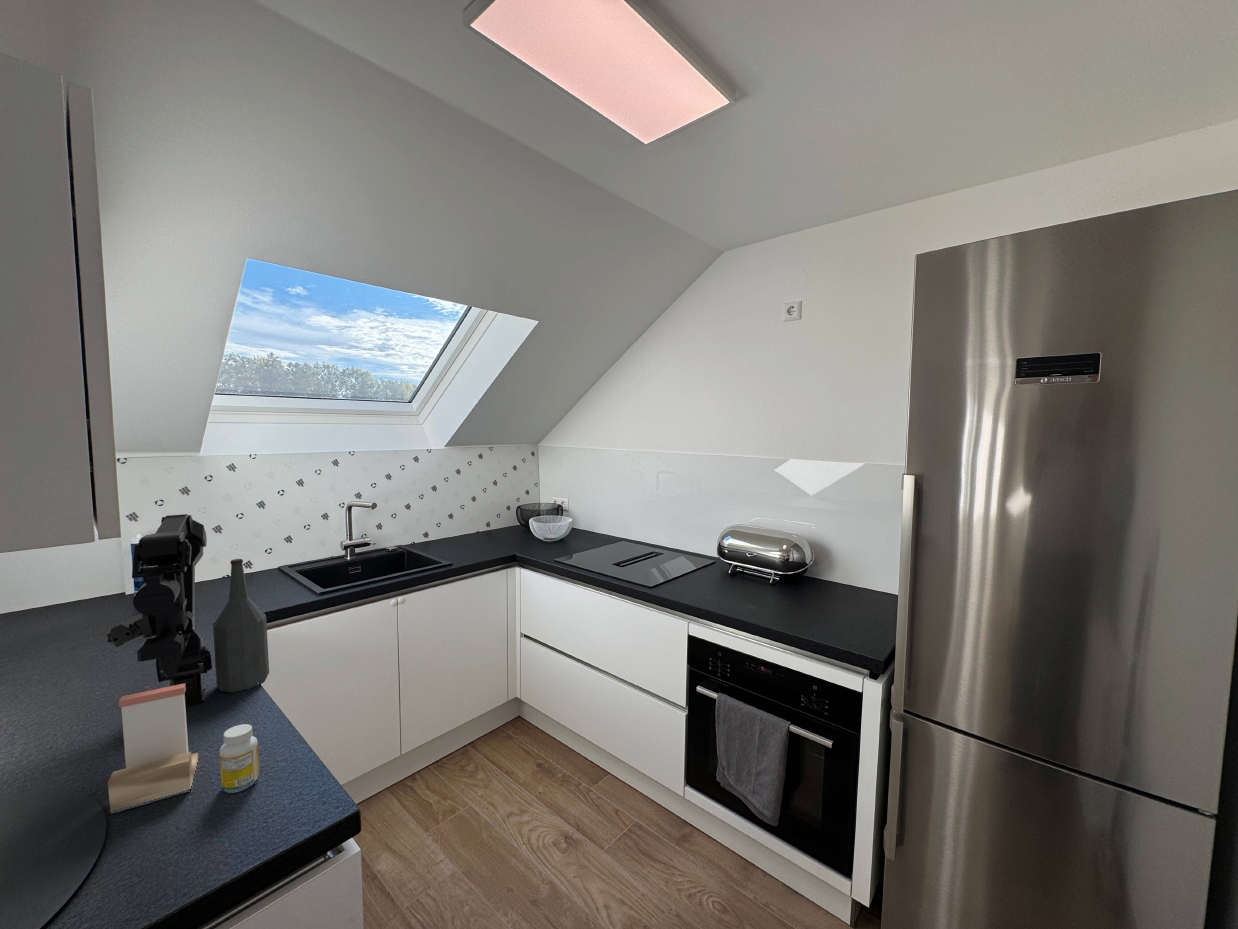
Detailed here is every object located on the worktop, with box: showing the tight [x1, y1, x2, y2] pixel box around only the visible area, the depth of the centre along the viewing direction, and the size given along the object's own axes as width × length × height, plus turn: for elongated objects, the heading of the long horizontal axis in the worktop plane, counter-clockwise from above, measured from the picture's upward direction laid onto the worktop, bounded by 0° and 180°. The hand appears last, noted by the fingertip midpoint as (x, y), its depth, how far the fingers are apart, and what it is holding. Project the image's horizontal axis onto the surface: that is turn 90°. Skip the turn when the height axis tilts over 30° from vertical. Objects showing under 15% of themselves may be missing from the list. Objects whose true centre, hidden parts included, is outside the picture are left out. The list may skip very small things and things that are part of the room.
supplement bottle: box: [219, 723, 260, 790], centre depth 92 cm, size 5×5×10 cm
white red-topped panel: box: [118, 683, 189, 769], centre depth 92 cm, size 2×8×14 cm, turn 122°
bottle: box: [212, 558, 270, 693], centre depth 126 cm, size 10×10×30 cm
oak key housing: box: [107, 751, 199, 812], centre depth 91 cm, size 10×10×6 cm
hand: (171, 676), depth 105 cm, fingers closed
